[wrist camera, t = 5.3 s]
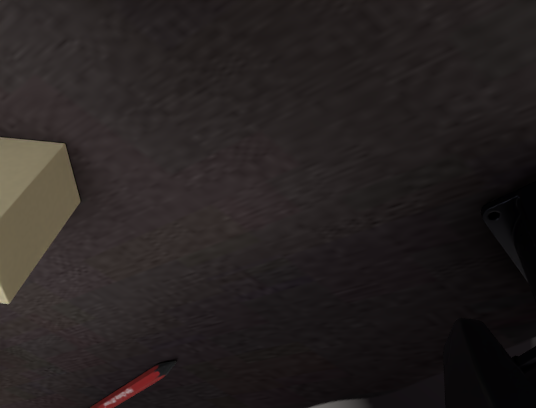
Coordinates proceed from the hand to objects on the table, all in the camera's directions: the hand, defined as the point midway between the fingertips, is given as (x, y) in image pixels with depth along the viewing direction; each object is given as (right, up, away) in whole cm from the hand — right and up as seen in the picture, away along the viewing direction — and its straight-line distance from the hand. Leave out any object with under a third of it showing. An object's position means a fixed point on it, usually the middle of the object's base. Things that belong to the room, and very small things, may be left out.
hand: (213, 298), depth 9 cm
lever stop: (-11, +4, +15) cm, 19 cm away
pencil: (-10, -12, +28) cm, 32 cm away
